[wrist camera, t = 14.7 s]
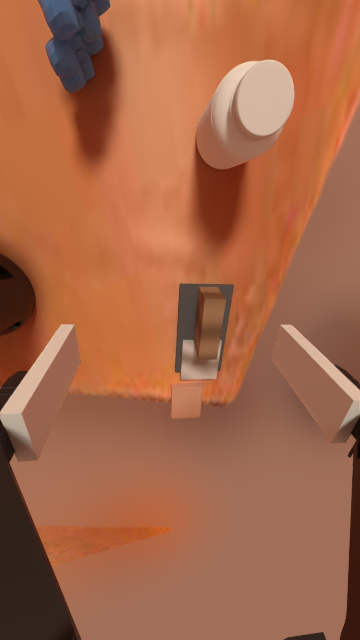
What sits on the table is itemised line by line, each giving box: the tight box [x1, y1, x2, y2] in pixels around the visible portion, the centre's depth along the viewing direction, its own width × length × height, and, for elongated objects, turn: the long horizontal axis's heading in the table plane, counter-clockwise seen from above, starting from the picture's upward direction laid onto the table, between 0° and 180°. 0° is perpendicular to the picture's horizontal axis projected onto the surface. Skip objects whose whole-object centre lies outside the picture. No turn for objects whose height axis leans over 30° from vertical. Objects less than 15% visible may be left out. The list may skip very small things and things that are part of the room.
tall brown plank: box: [180, 287, 226, 380], centre depth 46 cm, size 22×8×6 cm, turn 177°
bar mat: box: [175, 284, 234, 372], centre depth 49 cm, size 10×20×1 cm, turn 177°
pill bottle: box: [196, 60, 294, 169], centre depth 28 cm, size 8×8×15 cm
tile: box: [171, 382, 203, 419], centre depth 57 cm, size 7×2×10 cm
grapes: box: [38, 0, 110, 93], centre depth 23 cm, size 12×7×12 cm, turn 152°
